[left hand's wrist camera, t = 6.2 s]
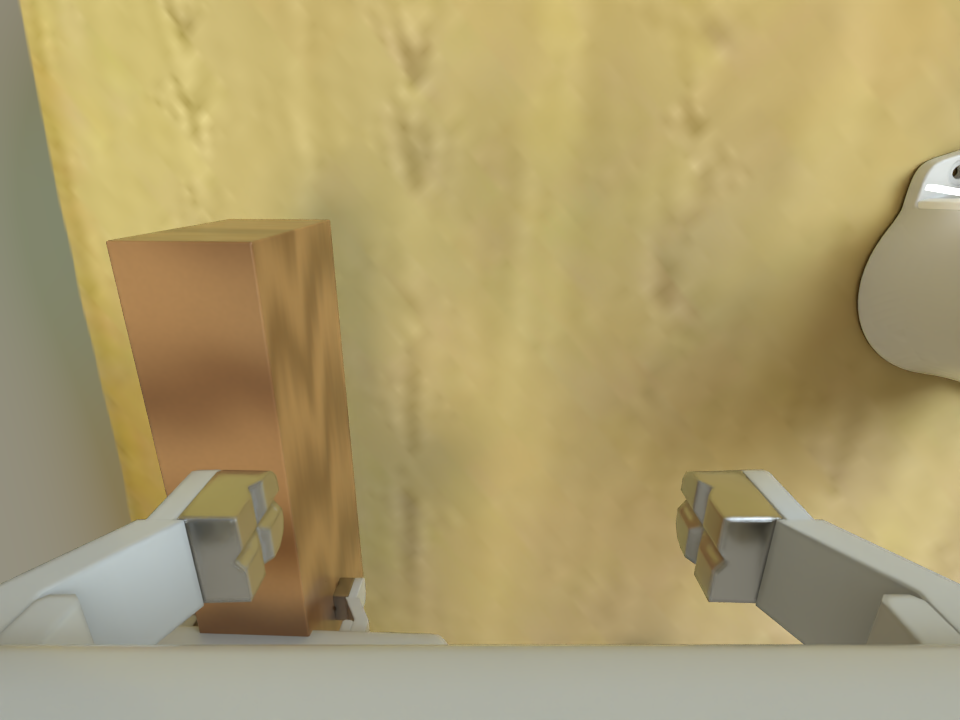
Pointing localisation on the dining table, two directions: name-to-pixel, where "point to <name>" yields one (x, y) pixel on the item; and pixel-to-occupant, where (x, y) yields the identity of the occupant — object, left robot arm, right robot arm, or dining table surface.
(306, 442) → the bar
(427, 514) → the dining table surface
